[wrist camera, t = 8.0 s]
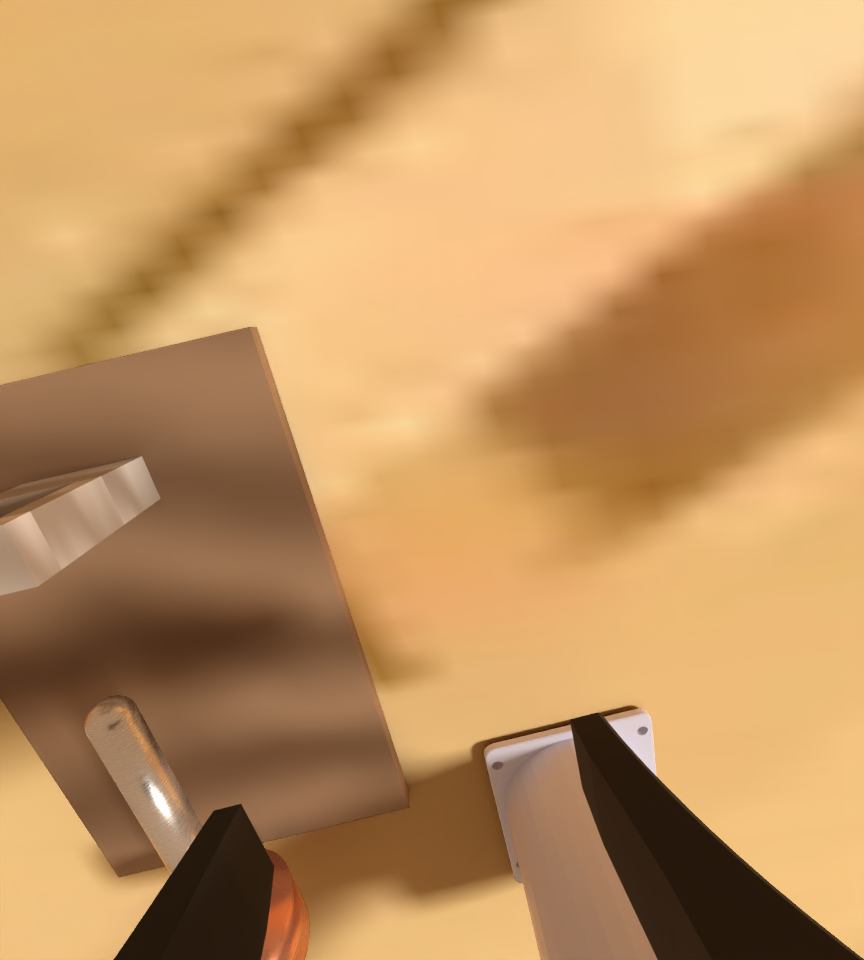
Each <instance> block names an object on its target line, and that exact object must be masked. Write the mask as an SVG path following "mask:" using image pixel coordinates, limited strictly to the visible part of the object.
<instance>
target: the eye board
mask: <svg viewBox="0 0 864 960" xmlns="http://www.w3.org/2000/svg"><path fill="white" fill-rule="evenodd" d="M115 695H123V696H127V697H129V698H131V699H132V700H133V701H134V702H135V703H136V705H137V707H138V708H139V710H140V712H141V714H142V716H143V718H144V719H145V721H146V723H147V725H148V727H149V729H150V731H151V732H152V734H153V736H154V738H155V740H156V742H157V743H158V745H159V747H160V749H161V751H162V753H163V754H164V756H165V758H166V760H167V762H168V764H169V765H170V767H171V769H172V771H173V773H174V775H175V776H176V778H177V780H178V782H179V784H180V786H181V787H182V789H183V791H184V793H185V795H186V797H187V798H188V800H189V802H190V804H191V806H192V808H193V810H194V811H195V813H196V815H197V817H198V819H199V821H200V822H201V824H202V826H203V825H204V824H205V822H206V821H207V820H208V818H209V817H210V815H211V814H212V812H213V811H214V810H218V809H222V808H226V807H230V806H234V805H238V804H242V806H243V808H244V810H245V812H246V814H247V816H248V818H249V819H250V821H251V823H252V825H253V827H254V829H255V831H256V833H257V835H258V837H259V838H260V840H261V842H262V843H263V842H267V841H272V840H276V839H280V838H284V837H288V836H292V835H297V834H301V833H305V832H309V831H313V830H317V829H321V828H326V827H330V826H334V825H338V824H342V823H346V822H351V821H355V820H359V819H363V818H367V817H371V816H376V815H380V814H384V813H388V812H392V811H396V810H400V809H405V808H409V791H408V788H407V785H406V781H405V778H404V775H403V772H402V769H401V766H400V763H399V760H398V757H397V754H396V751H395V748H394V745H393V742H392V739H391V736H390V733H389V730H388V727H387V723H386V720H385V717H384V714H383V711H382V708H381V705H380V702H379V699H378V696H377V693H376V690H375V687H374V684H373V681H372V678H371V675H370V672H369V669H368V665H367V662H366V659H365V656H364V653H363V650H362V647H361V644H360V641H359V638H358V635H357V632H356V629H355V626H354V623H353V620H352V617H351V614H350V611H349V607H348V604H347V601H346V598H345V595H344V592H343V589H342V586H341V583H340V580H339V577H338V574H337V571H336V568H335V565H334V562H333V559H332V556H331V553H330V549H329V546H328V543H327V540H326V537H325V534H324V531H323V528H322V525H321V522H320V519H319V516H318V513H317V510H316V507H315V504H314V501H313V498H312V495H311V491H310V488H309V485H308V482H307V479H306V476H305V473H304V470H303V467H302V464H301V461H300V458H299V455H298V452H297V449H296V446H295V443H294V440H293V437H292V433H291V430H290V427H289V424H288V421H287V418H286V415H285V412H284V409H283V406H282V403H281V400H280V397H279V394H278V391H277V388H276V385H275V382H274V379H273V375H272V372H271V369H270V366H269V363H268V360H267V357H266V354H265V351H264V348H263V345H262V342H261V339H260V336H259V333H258V330H257V327H248V328H243V329H239V330H235V331H230V332H226V333H222V334H218V335H213V336H209V337H205V338H201V339H196V340H192V341H188V342H184V343H179V344H175V345H171V346H166V347H162V348H158V349H154V350H149V351H145V352H141V353H137V354H132V355H128V356H124V357H120V358H115V359H111V360H107V361H102V362H98V363H94V364H90V365H85V366H81V367H77V368H73V369H68V370H64V371H60V372H56V373H51V374H47V375H43V376H38V377H34V378H30V379H26V380H21V381H17V382H13V383H9V384H4V385H0V698H1V700H2V701H3V703H4V704H5V706H6V707H7V709H8V710H9V712H10V713H11V715H12V716H13V718H14V719H15V721H16V722H17V724H18V725H19V727H20V728H21V730H22V731H23V733H24V734H25V736H26V737H27V739H28V741H29V742H30V744H31V745H32V747H33V748H34V750H35V751H36V753H37V754H38V756H39V757H40V759H41V760H42V762H43V763H44V765H45V766H46V768H47V769H48V771H49V772H50V774H51V775H52V777H53V778H54V780H55V781H56V783H57V784H58V786H59V787H60V789H61V790H62V792H63V793H64V795H65V796H66V798H67V799H68V801H69V803H70V804H71V806H72V807H73V809H74V810H75V812H76V813H77V815H78V816H79V818H80V819H81V821H82V822H83V824H84V825H85V827H86V828H87V830H88V831H89V833H90V834H91V836H92V837H93V839H94V840H95V842H96V843H97V845H98V846H99V848H100V849H101V851H102V852H103V854H104V855H105V857H106V858H107V860H108V861H109V863H110V865H111V866H112V868H113V869H114V871H115V872H116V874H117V875H118V877H122V876H126V875H130V874H134V873H139V872H143V871H147V870H151V869H155V868H159V867H163V866H165V864H164V863H163V861H162V859H161V858H160V856H159V854H158V853H157V851H156V849H155V848H154V846H153V844H152V843H151V841H150V839H149V838H148V836H147V834H146V833H145V831H144V830H143V828H142V826H141V825H140V823H139V821H138V820H137V818H136V816H135V815H134V813H133V811H132V810H131V808H130V806H129V805H128V803H127V801H126V800H125V798H124V796H123V795H122V793H121V792H120V790H119V788H118V787H117V785H116V783H115V782H114V780H113V778H112V777H111V775H110V773H109V772H108V770H107V768H106V767H105V765H104V763H103V762H102V760H101V758H100V757H99V755H98V753H97V752H96V750H95V749H94V747H93V745H92V744H91V742H90V740H89V739H88V737H87V735H86V732H85V720H86V718H87V715H88V713H89V712H90V710H91V709H92V708H93V707H94V706H95V705H96V704H97V703H98V702H100V701H101V700H103V699H105V698H107V697H110V696H115Z"/></svg>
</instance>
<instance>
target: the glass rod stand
mask: <svg viewBox="0 0 864 960" xmlns="http://www.w3.org/2000/svg"><path fill="white" fill-rule="evenodd" d="M85 732H86V735H87V737H88V739H89V740H90V742H91V744H92V745H93V747H94V749H95V750H96V752H97V753H98V755H99V757H100V758H101V760H102V762H103V763H104V765H105V767H106V768H107V770H108V772H109V773H110V775H111V777H112V778H113V780H114V782H115V783H116V785H117V787H118V788H119V790H120V792H121V793H122V795H123V796H124V798H125V800H126V801H127V803H128V805H129V806H130V808H131V810H132V811H133V813H134V815H135V816H136V818H137V820H138V821H139V823H140V825H141V826H142V828H143V830H144V831H145V833H146V834H147V836H148V838H149V839H150V841H151V843H152V844H153V846H154V848H155V849H156V851H157V853H158V854H159V856H160V858H161V859H162V861H163V863H164V864H165V866H166V868H167V869H168V871H169V872H170V874H172V872H173V871H174V869H175V868H176V866H177V865H178V863H179V862H180V860H181V859H182V857H183V856H184V854H185V853H186V851H187V850H188V848H189V847H190V845H191V844H192V842H193V841H194V839H195V838H196V836H197V834H198V833H199V831H200V830H201V828H202V827H203V826H202V824H201V822H200V821H199V819H198V817H197V815H196V813H195V811H194V810H193V808H192V806H191V804H190V802H189V800H188V798H187V797H186V795H185V793H184V791H183V789H182V787H181V786H180V784H179V782H178V780H177V778H176V776H175V775H174V773H173V771H172V769H171V767H170V765H169V764H168V762H167V760H166V758H165V756H164V754H163V753H162V751H161V749H160V747H159V745H158V743H157V742H156V740H155V738H154V736H153V734H152V732H151V731H150V729H149V727H148V725H147V723H146V721H145V719H144V718H143V716H142V714H141V712H140V710H139V708H138V707H137V705H136V703H135V702H134V701H133V700H132V699H131V698H129V697H127V696H123V695H115V696H110V697H107V698H105V699H103V700H101V701H100V702H98V703H97V704H96V705H95V706H94V707H93V708H92V709H91V710H90V712H89V713H88V715H87V718H86V720H85ZM265 850H266V852H267V854H268V856H269V857H270V859H271V861H272V863H273V865H274V875H273V884H272V893H271V902H270V910H269V918H268V925H267V932H266V937H265V942H264V947H263V951H262V956H261V960H305V957H306V953H307V949H308V943H309V934H310V922H309V915H308V911H307V907H306V905H305V903H304V901H303V899H302V896H301V894H300V892H299V890H298V888H297V886H296V884H295V882H294V880H293V878H292V876H291V873H290V871H289V869H288V867H287V865H286V863H285V862H284V860H283V859H282V858H281V857H280V856H279V855H278V854H276V853H275V852H273V851H270V850H267V849H265Z"/></svg>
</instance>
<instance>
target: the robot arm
mask: <svg viewBox="0 0 864 960" xmlns="http://www.w3.org/2000/svg"><path fill="white" fill-rule="evenodd" d="M570 724H571V725H567V726H563V727H559V728H555V729H551V730H547V731H542V732H538V733H534V734H530V735H526V736H522V737H517V738H513V739H509V740H505V741H501V742H497V743H492V744H490V745H488V746H487V747H486V748H485V750H484V757H485V761H486V765H487V769H488V773H489V778H490V782H491V786H492V790H493V794H494V798H495V802H496V806H497V810H498V814H499V818H500V822H501V826H502V830H503V834H504V838H505V842H506V846H507V851H508V855H509V859H510V863H511V867H512V871H513V875H514V879H515V880H516V881H517V882H519V883H523V885H524V890H525V894H526V898H527V902H528V907H529V911H530V915H531V920H532V924H533V928H534V932H535V937H536V941H537V945H538V950H539V954H540V958H541V960H864V959H863V958H861V957H860V956H859V955H857V954H856V953H855V952H854V951H852V950H851V949H850V948H849V947H847V946H846V945H845V944H844V943H842V942H841V941H840V940H839V939H837V938H836V937H835V936H834V935H832V934H831V933H830V932H829V931H827V930H826V929H825V928H824V927H822V926H821V925H820V924H819V923H817V922H816V921H815V920H814V919H812V918H811V917H810V916H809V915H807V914H806V913H805V912H804V911H802V910H801V909H800V908H799V907H798V906H796V905H795V904H794V903H793V902H792V901H790V900H789V899H788V898H787V897H786V896H784V895H783V894H782V893H781V892H780V891H779V890H777V889H776V888H775V887H774V886H773V885H771V884H770V883H769V882H768V881H767V880H766V879H764V878H763V877H762V876H761V875H760V874H759V873H758V872H756V871H755V870H754V869H753V868H752V867H751V866H750V865H748V864H747V863H746V862H745V861H744V860H743V859H742V858H741V857H739V856H738V855H737V854H736V853H735V852H734V851H733V850H732V849H731V848H730V847H729V846H727V845H726V844H725V843H724V842H723V841H722V840H721V839H720V838H719V837H718V836H717V835H715V834H714V833H713V832H712V831H711V830H710V829H709V828H708V827H707V826H706V825H705V824H704V823H703V822H702V821H701V820H700V819H699V818H698V817H696V816H695V815H694V814H693V813H692V812H691V811H690V810H689V809H688V808H687V807H686V806H685V805H684V804H683V803H682V802H681V801H680V800H679V799H678V798H677V797H676V796H675V795H674V794H673V793H672V792H671V791H670V790H669V789H668V788H667V787H666V786H665V785H664V784H663V783H662V782H661V781H660V780H659V779H658V777H657V776H656V764H655V753H654V741H653V730H652V719H651V717H650V715H649V714H648V712H647V711H646V710H645V709H634V710H630V711H626V712H622V713H617V714H613V715H609V716H605V717H604V716H603V715H601V714H599V713H594V714H590V715H587V716H583V717H579V718H575V719H571V720H570ZM640 727H641V728H640ZM495 762H496V763H495ZM273 875H274V865H273V863H272V861H271V859H270V857H269V856H268V854H267V852H266V850H265V848H264V846H263V844H262V842H261V840H260V838H259V837H258V835H257V833H256V831H255V829H254V827H253V825H252V823H251V821H250V819H249V818H248V816H247V814H246V812H245V810H244V808H243V806H242V804H238V805H234V806H230V807H226V808H222V809H218V810H214V811H213V812H212V814H211V815H210V817H209V818H208V820H207V821H206V822H205V824H204V825H203V827H202V828H201V830H200V831H199V833H198V834H197V836H196V838H195V839H194V841H193V842H192V844H191V845H190V847H189V848H188V850H187V851H186V853H185V854H184V856H183V857H182V859H181V860H180V862H179V863H178V865H177V866H176V868H175V869H174V871H173V872H172V874H171V876H170V877H169V879H168V880H167V882H166V883H165V885H164V886H163V888H162V889H161V891H160V892H159V894H158V895H157V897H156V898H155V900H154V901H153V903H152V904H151V906H150V907H149V909H148V910H147V912H146V913H145V915H144V916H143V917H142V919H141V920H140V922H139V923H138V925H137V926H136V928H135V929H134V931H133V932H132V934H131V935H130V937H129V938H128V940H127V941H126V943H125V944H124V946H123V947H122V949H121V950H120V951H119V953H118V954H117V956H116V957H115V958H114V960H261V956H262V951H263V947H264V942H265V937H266V932H267V925H268V918H269V910H270V902H271V893H272V884H273Z"/></svg>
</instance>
